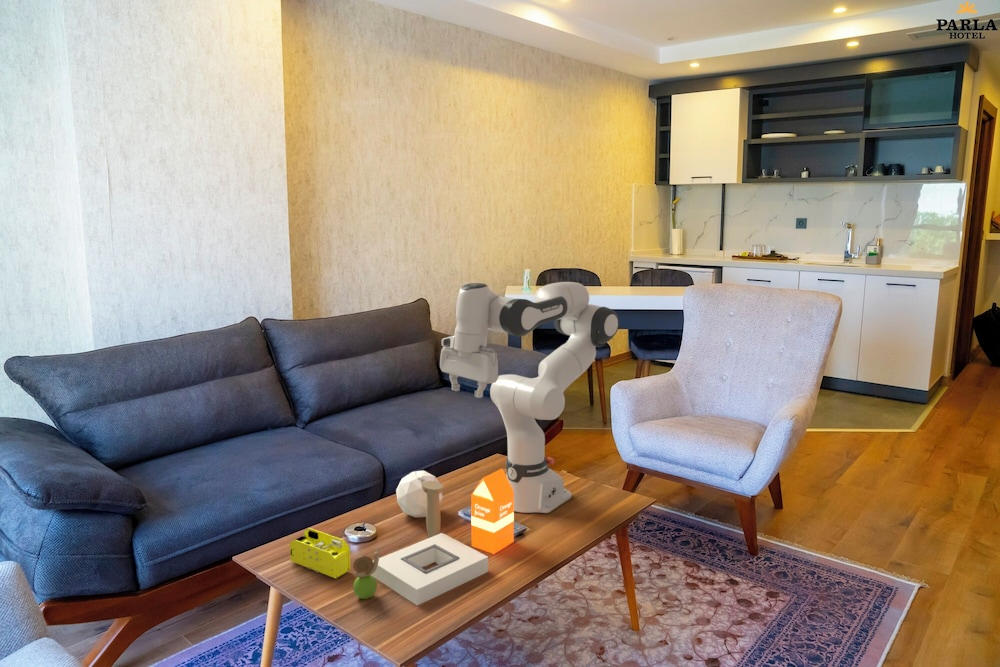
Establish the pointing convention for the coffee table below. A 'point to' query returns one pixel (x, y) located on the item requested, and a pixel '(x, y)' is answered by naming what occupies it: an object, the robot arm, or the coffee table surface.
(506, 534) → the orange juice
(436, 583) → the socket board
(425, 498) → the geodesic sphere
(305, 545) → the yellow toy chassis
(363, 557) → the snail figurine
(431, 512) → the handle
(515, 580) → the coffee table surface
